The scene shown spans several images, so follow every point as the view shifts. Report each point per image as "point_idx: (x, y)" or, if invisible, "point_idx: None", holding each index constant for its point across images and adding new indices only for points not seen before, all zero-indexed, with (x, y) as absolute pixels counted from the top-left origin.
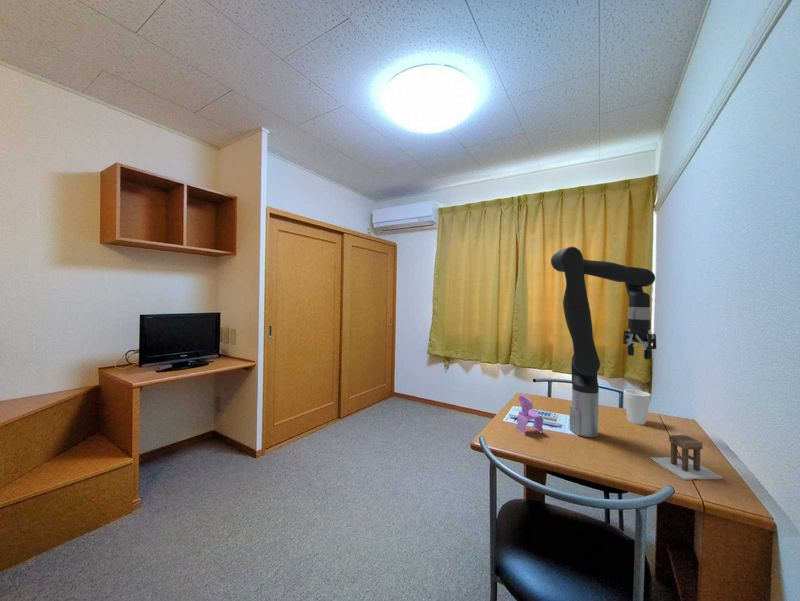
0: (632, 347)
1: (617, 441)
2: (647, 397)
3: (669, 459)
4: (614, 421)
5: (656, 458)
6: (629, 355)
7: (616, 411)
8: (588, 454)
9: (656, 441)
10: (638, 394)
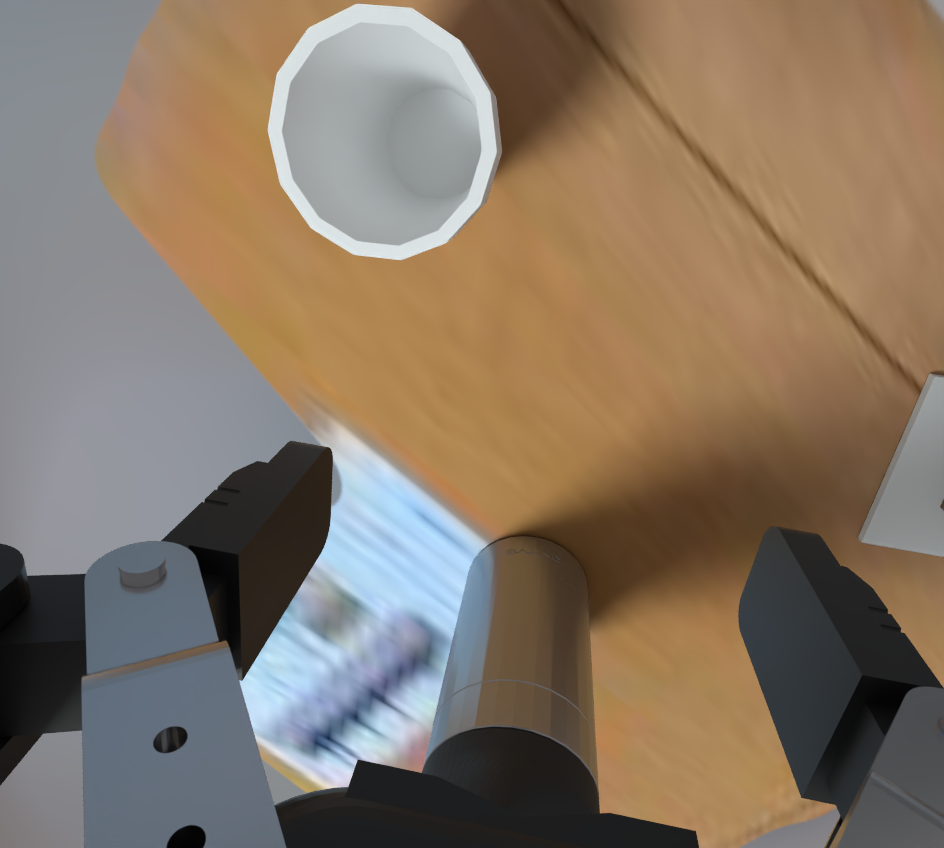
0: (248, 584)
1: (654, 519)
2: (495, 129)
3: (913, 477)
4: (409, 298)
5: (878, 525)
6: (323, 523)
7: (229, 105)
8: (718, 722)
9: (721, 315)
10: (334, 55)
